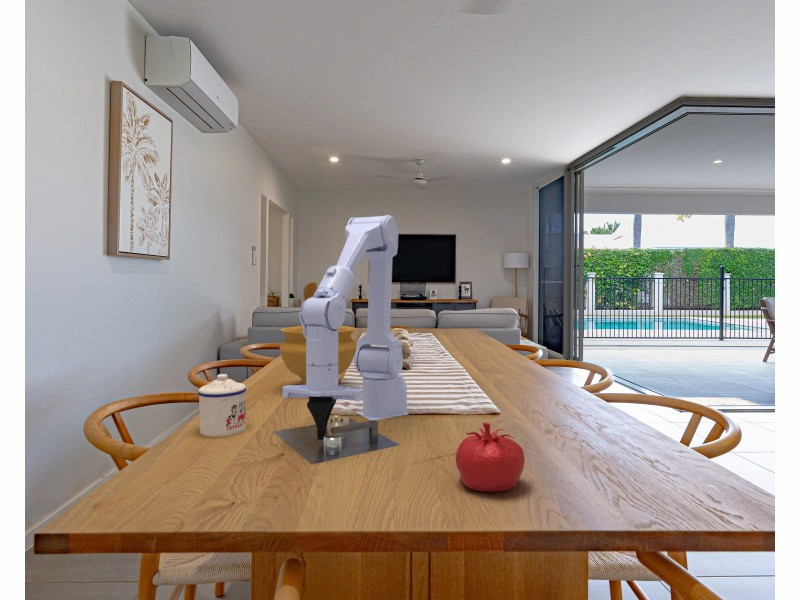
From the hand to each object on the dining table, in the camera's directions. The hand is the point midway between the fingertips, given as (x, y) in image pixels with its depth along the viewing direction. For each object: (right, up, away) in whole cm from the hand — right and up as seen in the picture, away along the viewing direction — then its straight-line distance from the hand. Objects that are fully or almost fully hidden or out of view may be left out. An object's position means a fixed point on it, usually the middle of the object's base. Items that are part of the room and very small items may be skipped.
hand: (322, 438), depth 87 cm
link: (+2, -1, +1) cm, 3 cm away
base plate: (+2, -2, +3) cm, 4 cm away
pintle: (+2, -1, +6) cm, 6 cm away
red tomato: (+27, -3, -16) cm, 32 cm away
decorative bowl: (-8, 0, +47) cm, 47 cm away
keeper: (+6, -2, -1) cm, 6 cm away
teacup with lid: (-21, -2, +10) cm, 24 cm away
